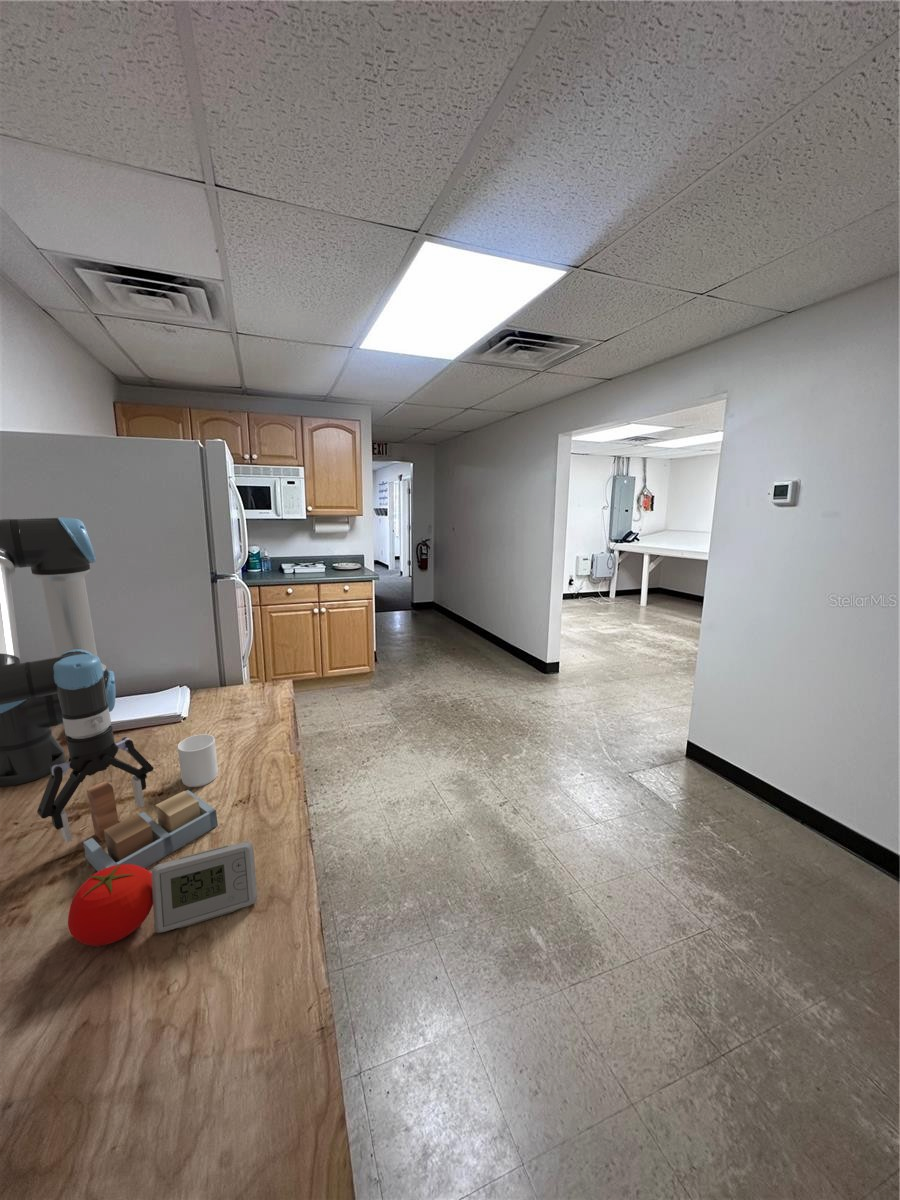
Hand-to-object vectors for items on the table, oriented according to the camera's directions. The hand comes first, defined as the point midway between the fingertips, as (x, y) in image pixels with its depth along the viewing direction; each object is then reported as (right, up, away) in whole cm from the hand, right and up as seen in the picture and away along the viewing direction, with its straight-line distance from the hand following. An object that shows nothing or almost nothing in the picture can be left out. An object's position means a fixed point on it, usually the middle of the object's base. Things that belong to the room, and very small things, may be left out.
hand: (105, 820), depth 101 cm
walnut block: (+5, -4, -3) cm, 7 cm away
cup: (+9, +2, +22) cm, 24 cm away
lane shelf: (+12, -4, -1) cm, 12 cm away
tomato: (+17, -9, -21) cm, 28 cm away
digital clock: (+31, -8, -17) cm, 36 cm away
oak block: (+15, -3, +2) cm, 16 cm away
